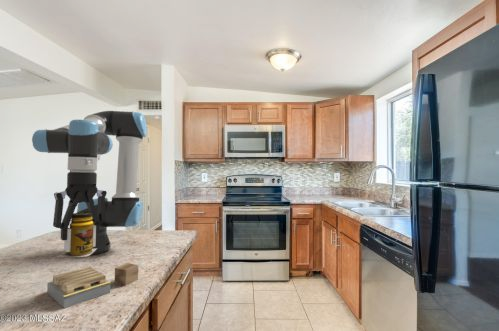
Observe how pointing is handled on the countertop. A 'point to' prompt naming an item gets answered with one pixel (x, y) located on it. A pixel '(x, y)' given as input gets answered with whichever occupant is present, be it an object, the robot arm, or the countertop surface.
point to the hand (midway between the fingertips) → (80, 248)
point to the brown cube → (126, 274)
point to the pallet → (78, 279)
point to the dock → (77, 293)
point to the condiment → (81, 235)
